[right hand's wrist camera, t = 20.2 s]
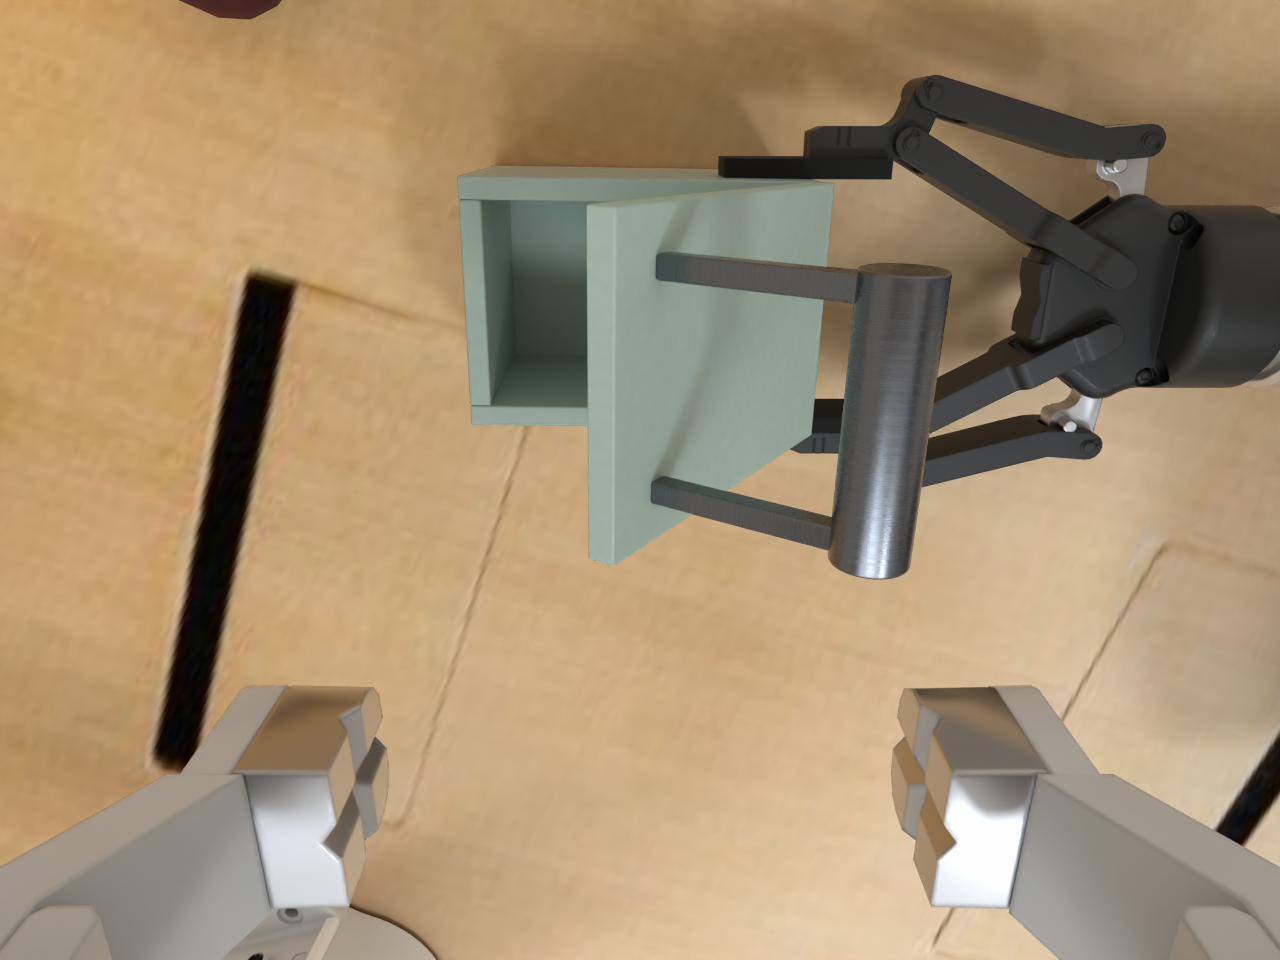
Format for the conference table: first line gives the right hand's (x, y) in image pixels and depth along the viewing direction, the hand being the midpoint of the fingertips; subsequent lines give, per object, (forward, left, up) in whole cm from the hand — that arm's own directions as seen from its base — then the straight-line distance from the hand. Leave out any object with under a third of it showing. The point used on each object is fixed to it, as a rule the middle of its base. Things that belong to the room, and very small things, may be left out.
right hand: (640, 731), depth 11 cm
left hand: (+3, 0, -29) cm, 29 cm away
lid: (+2, 0, -20) cm, 20 cm away
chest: (0, 0, -35) cm, 35 cm away
